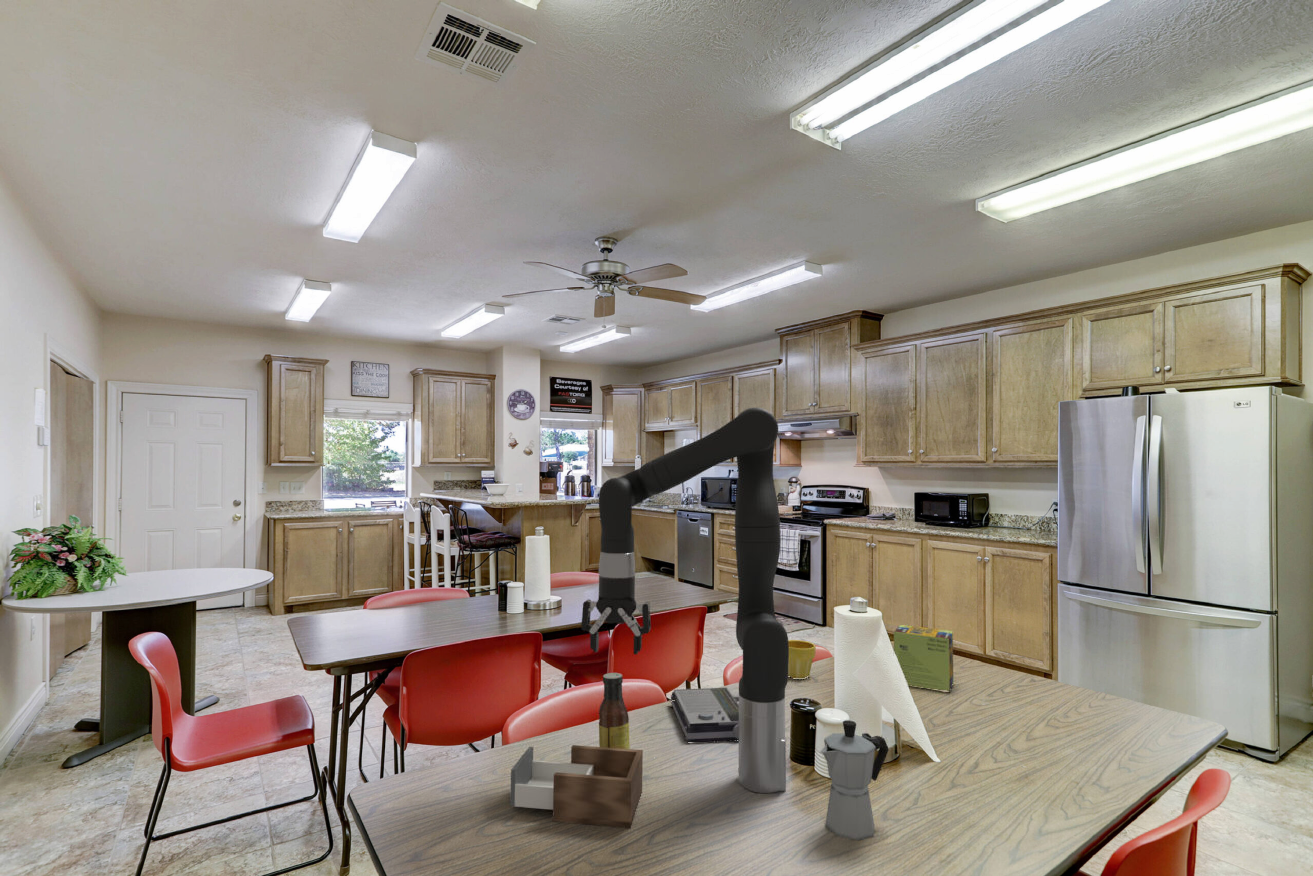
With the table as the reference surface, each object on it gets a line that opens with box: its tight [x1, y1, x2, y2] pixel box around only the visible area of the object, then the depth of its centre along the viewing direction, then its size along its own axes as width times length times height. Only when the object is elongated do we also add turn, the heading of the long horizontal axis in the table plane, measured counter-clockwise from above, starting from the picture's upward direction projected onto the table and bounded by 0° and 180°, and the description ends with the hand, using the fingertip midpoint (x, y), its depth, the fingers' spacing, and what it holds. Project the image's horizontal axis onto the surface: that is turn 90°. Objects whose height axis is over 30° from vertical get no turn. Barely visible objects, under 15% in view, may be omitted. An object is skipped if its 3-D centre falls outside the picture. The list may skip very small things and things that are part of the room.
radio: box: [670, 687, 739, 743], centre depth 160 cm, size 24×5×20 cm
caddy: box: [552, 744, 644, 829], centre depth 119 cm, size 14×13×8 cm
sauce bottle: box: [598, 672, 631, 749], centre depth 132 cm, size 6×6×20 cm
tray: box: [509, 746, 594, 811], centre depth 120 cm, size 13×10×6 cm
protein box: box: [893, 624, 955, 692], centre depth 190 cm, size 10×15×16 cm
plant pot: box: [788, 639, 817, 679], centre depth 196 cm, size 10×10×10 cm
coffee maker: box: [819, 719, 890, 841], centre depth 114 cm, size 15×9×18 cm, turn 114°
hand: (615, 652), depth 133 cm, fingers open, 8 cm apart
